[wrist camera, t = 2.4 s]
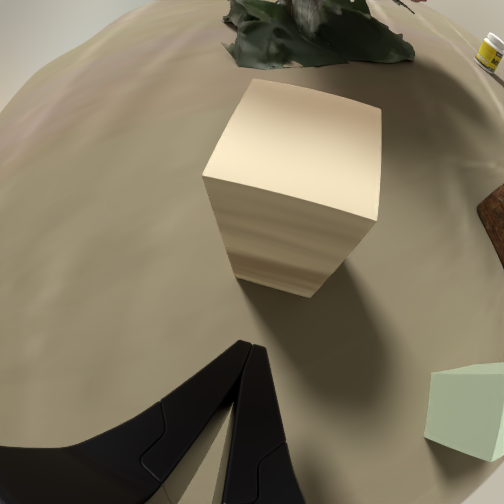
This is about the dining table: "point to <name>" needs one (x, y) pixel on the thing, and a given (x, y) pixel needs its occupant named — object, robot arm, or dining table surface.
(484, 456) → the sage block
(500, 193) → the brick
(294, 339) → the dining table surface
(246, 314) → the dining table surface
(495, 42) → the supplement bottle
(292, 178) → the maple block
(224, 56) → the dining table surface
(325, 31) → the rose bouquet
